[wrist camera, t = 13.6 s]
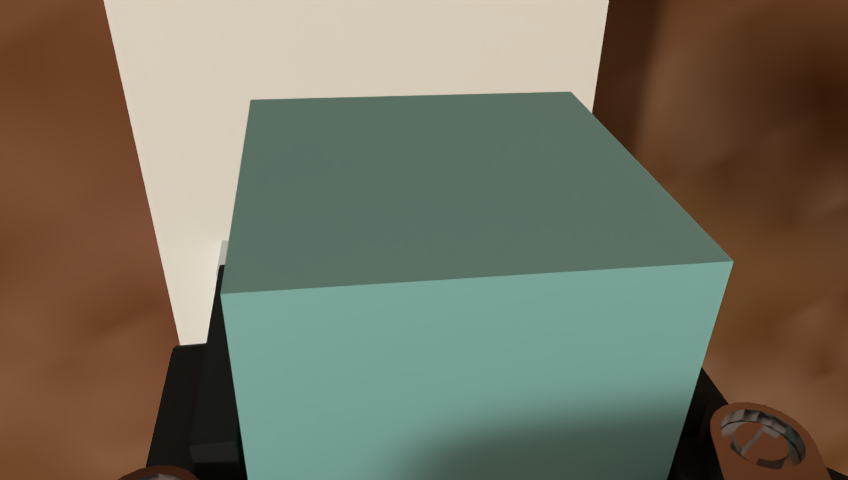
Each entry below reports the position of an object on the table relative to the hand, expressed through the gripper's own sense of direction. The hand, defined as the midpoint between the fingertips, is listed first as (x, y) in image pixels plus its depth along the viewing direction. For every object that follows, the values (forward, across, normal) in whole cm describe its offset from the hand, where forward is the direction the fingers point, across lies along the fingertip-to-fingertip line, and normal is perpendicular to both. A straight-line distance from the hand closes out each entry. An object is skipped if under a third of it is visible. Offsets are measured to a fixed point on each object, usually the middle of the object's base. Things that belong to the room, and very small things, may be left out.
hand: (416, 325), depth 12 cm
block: (+1, 0, -1) cm, 2 cm away
